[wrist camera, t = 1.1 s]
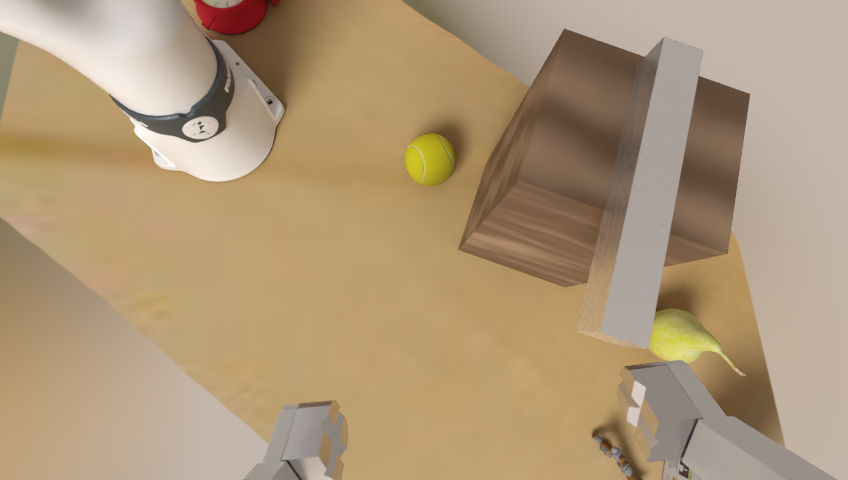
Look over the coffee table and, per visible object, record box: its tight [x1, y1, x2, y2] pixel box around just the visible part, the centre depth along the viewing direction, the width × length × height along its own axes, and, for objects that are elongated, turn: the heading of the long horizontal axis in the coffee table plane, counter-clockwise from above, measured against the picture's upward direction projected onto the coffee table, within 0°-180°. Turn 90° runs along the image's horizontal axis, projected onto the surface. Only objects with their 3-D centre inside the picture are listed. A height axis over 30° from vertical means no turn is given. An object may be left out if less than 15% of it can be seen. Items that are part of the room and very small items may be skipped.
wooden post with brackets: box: [592, 433, 642, 480], centre depth 46 cm, size 2×8×4 cm, turn 41°
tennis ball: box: [405, 133, 456, 186], centre depth 51 cm, size 7×7×7 cm
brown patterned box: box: [458, 29, 750, 287], centre depth 41 cm, size 14×17×26 cm
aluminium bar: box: [576, 37, 703, 349], centre depth 26 cm, size 22×3×3 cm, turn 161°
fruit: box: [649, 308, 745, 376], centre depth 46 cm, size 7×8×12 cm
